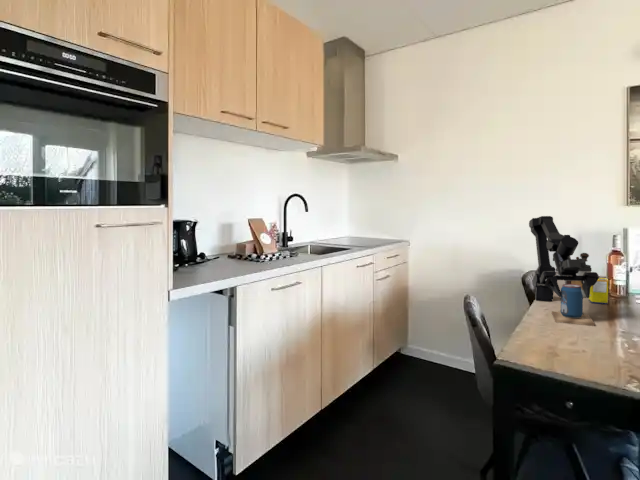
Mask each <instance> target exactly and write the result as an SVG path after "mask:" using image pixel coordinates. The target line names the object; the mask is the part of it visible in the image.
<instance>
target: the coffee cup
mask: <svg viewBox="0 0 640 480" xmlns="http://www.w3.org/2000/svg"><path fill="white" fill-rule="evenodd" d="M591 266H592V265H589V264H586V266H585V267H584V268H580V269H578V271H579V272H578V273H576V276H583V275H584V273H585V272H593V271H592V267H591ZM571 284H576V285H580V286H581V288H582V285H583V284H582V283H581V281H571ZM582 290H583V288H582ZM585 298H587V297H586V295H585V293H584V290H583V299H585ZM587 299H588V298H587Z"/></svg>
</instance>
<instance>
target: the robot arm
mask: <svg viewBox="0 0 640 480" xmlns="http://www.w3.org/2000/svg"><path fill="white" fill-rule="evenodd" d="M528 227H529V228H530V232H531V234H532V235H533V236H534V238H535V244H536V254H537V263H538V266H537V268H536V270H535V271H534V272H535V273H534V275H533V278H532V281H531V282H532V286H533V287H535V296H534V298H535V301H542V302H553V300H554V294H556V295H557V296H558V297H559V298H561V288H560V286H559V283H558V281H564V282H565V281H581V283H582V284H583V285H582V288H583V290H584V293H585V295H586V297H587V299H589V295H590V287H591V286H593V285H595V283H596V282H597V280H598V279H599V278H600V276H599V274H598V272H595V271H591V272H585V273H584V275H583V276H576V273H578V272H579V271H578V269H580V268H584V267H585V266H586V265H587V261H586V262H585V260H584V259H582V258H579V259H576V258H573V259H572V258H571V257H572V256H573V255H574V253H575V251H576V249H577V248H578V246H579V241H578V240H577V238H575V237H572V236H571V235H570V234H564V235H563V234H561V233H560V232H559V229H558V228H557V226H556V224H555V221H554V217H553V216H551V215H541V216H538V217H532V218H531V219H530V220H529V222H528ZM550 252H551V253H553V254H552V261H553V262H554V264H555V267H554V266H552V265H551V261H550V254H549V253H550ZM556 272H557V274H556Z"/></svg>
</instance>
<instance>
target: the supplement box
mask: <svg viewBox="0 0 640 480" xmlns="http://www.w3.org/2000/svg"><path fill="white" fill-rule="evenodd" d="M608 300H609V279H608V278H606V277H599V279H598V280H597V282H596V283H595V285H593V286H591V287H590V295H589V298H588V302H589V303H591V304H594V305H595V304H597V305H608V302H609V301H608Z"/></svg>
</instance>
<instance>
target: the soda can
mask: <svg viewBox="0 0 640 480" xmlns="http://www.w3.org/2000/svg"><path fill="white" fill-rule="evenodd" d="M560 291H561V297H560V312H561V314H562V315H563V316H564V317H567V318H580V317H581V316H582V315H583V314H584V311H583V310H584V308H583V306H584V304H583V302H584V301H583V300H584V298H583V290H582V288H581V286H580V285H576V284H565V283H564V284H562V287H561V288H560Z"/></svg>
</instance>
